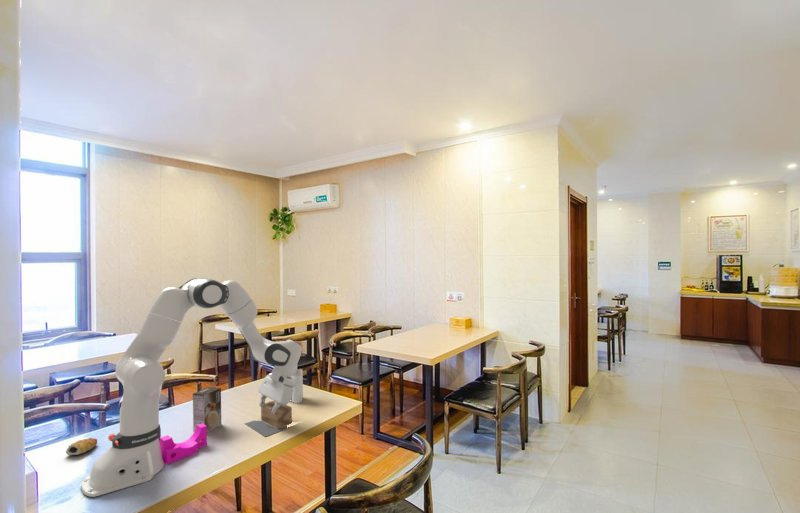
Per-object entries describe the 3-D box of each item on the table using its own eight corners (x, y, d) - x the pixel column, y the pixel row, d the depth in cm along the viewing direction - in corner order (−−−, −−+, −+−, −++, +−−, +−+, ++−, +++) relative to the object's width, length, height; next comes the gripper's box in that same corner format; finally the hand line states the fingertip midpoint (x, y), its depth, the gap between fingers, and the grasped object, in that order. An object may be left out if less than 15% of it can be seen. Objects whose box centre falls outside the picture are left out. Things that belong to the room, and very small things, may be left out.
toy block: (167, 464, 134) (167, 442, 134) (159, 458, 138) (159, 437, 138) (210, 447, 146) (209, 427, 146) (202, 442, 150) (201, 423, 150)
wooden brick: (276, 429, 160) (276, 412, 160) (261, 420, 168) (261, 404, 168) (291, 423, 165) (291, 407, 165) (275, 415, 174) (275, 400, 174)
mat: (265, 437, 153) (265, 436, 153) (244, 424, 165) (244, 423, 165) (326, 414, 176) (326, 413, 176) (303, 404, 188) (303, 403, 188)
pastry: (87, 443, 149) (86, 433, 149) (103, 443, 148) (102, 433, 148) (63, 456, 140) (63, 445, 140) (81, 456, 139) (80, 445, 139)
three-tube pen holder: (281, 401, 192) (280, 361, 192) (291, 397, 198) (291, 358, 198) (297, 406, 186) (297, 364, 186) (308, 401, 192) (307, 361, 192)
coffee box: (210, 423, 167) (210, 386, 167) (221, 425, 165) (221, 387, 165) (192, 432, 158) (192, 393, 158) (204, 434, 156) (204, 394, 156)
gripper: (262, 370, 173) (248, 401, 168) (287, 380, 159) (272, 414, 155) (274, 374, 177) (260, 404, 173) (298, 384, 163) (285, 417, 159)
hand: (266, 409), depth 163 cm, fingers open, 8 cm apart
